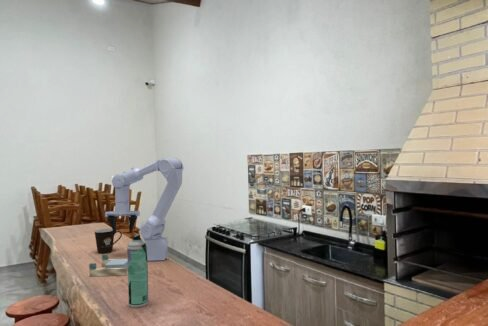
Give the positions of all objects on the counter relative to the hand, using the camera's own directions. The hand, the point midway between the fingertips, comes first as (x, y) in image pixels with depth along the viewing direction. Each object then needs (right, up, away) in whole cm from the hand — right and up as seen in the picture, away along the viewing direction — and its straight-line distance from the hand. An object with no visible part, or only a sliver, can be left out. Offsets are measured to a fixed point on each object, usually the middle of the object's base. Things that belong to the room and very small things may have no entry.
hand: (122, 232), depth 155 cm
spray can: (+23, -11, -53) cm, 58 cm away
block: (+5, -11, -20) cm, 23 cm away
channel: (+3, -11, -20) cm, 23 cm away
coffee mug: (-10, -11, +9) cm, 17 cm away
